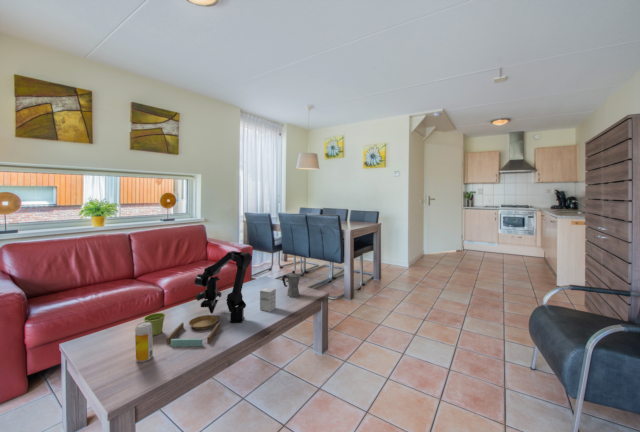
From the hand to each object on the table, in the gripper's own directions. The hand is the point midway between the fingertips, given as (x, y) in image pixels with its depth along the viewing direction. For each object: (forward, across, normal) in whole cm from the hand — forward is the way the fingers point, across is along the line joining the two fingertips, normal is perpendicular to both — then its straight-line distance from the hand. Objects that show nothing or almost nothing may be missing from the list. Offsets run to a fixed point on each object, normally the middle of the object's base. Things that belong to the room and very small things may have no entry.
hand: (211, 313), depth 161 cm
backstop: (+1, +34, 0) cm, 34 cm away
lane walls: (+1, +25, 0) cm, 25 cm away
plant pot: (+1, +22, -21) cm, 30 cm away
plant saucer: (+2, +13, 0) cm, 13 cm away
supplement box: (+1, -8, +32) cm, 33 cm away
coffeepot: (+1, -32, +46) cm, 56 cm away
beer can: (+1, +44, -13) cm, 46 cm away
